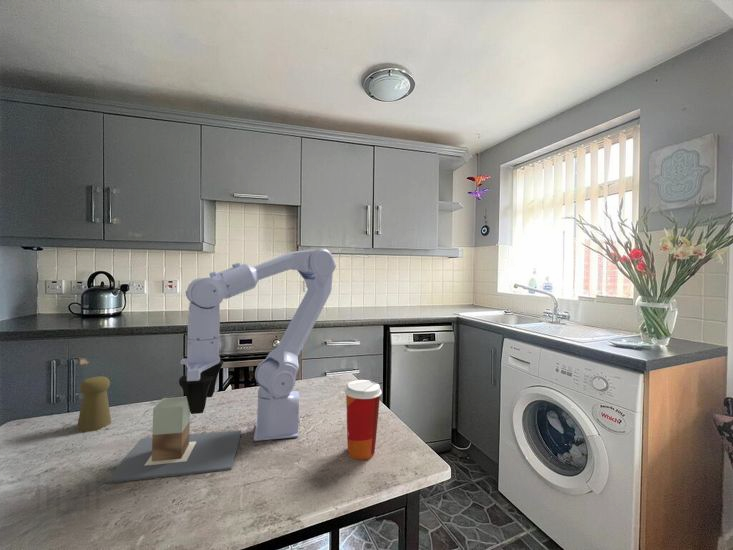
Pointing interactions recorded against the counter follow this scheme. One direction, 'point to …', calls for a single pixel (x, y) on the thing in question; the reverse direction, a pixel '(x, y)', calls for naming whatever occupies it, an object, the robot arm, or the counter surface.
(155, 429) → the sage block
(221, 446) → the mat
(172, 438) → the walnut block
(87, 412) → the cork
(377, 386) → the paper cup
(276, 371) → the robot arm
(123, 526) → the counter surface
